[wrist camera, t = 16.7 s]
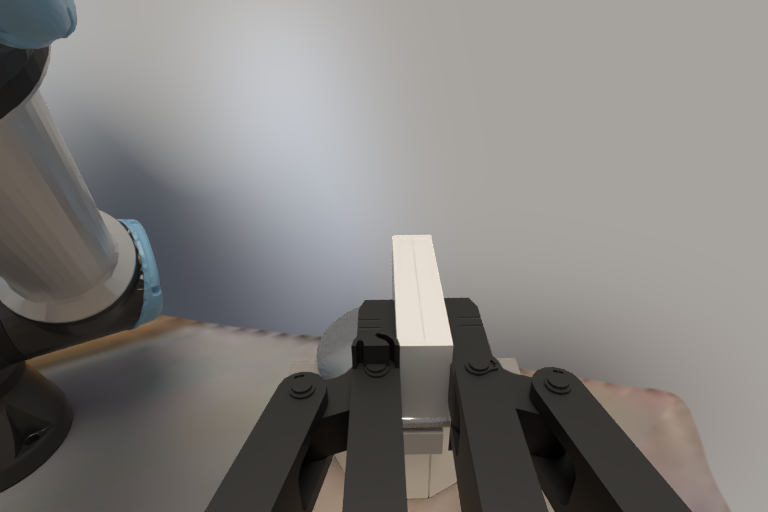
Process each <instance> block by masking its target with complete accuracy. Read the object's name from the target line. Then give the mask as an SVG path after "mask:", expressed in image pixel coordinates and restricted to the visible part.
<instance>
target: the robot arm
mask: <svg viewBox="0 0 768 512" xmlns="http://www.w3.org/2000/svg"><path fill="white" fill-rule="evenodd" d="M76 24H77V15H76V7H75V4H74V0H0V491H2V490H4V489H6V488H8V487H9V486H11V485H13V484H14V483H16V482H18V481H19V480H21V479H22V478H24V477H25V476H27V475H28V474H30V473H31V472H32V471H34V470H35V469H36V468H37V467H39V466H40V465H41V464H42V463H43V462H44V461H45V460H46V459H47V458H48V457H49V456H50V455H51V454H52V453H53V452H54V451H55V450H56V449H57V448H58V446H59V445H60V444H61V442H62V441H63V439H64V438H65V436H66V434H67V432H68V430H69V428H70V425H71V421H72V410H71V407H70V405H69V403H68V401H67V399H66V397H65V395H64V393H63V392H62V391H61V389H60V388H59V387H58V386H56V385H55V384H54V383H52V382H51V381H50V380H48V379H47V378H46V377H44V376H43V375H42V374H40V373H39V372H38V371H36V370H35V369H34V368H32V367H31V366H30V365H28V364H27V363H26V362H25V360H28V359H32V358H34V357H37V356H41V355H44V354H47V353H51V352H54V351H57V350H61V349H64V348H67V347H71V346H74V345H77V344H81V343H84V342H88V341H91V340H94V339H98V338H101V337H104V336H108V335H111V334H114V333H118V332H121V331H124V330H133V329H136V328H137V327H139V326H140V325H142V324H145V323H148V322H150V321H153V320H155V319H156V318H157V317H158V316H159V315H160V313H161V311H162V307H163V299H162V291H161V288H160V285H159V284H160V282H159V274H158V270H157V266H156V262H155V258H154V255H153V251H152V248H151V245H150V242H149V239H148V237H147V235H146V232H145V230H144V228H143V227H142V225H141V224H140V223H139V222H138V221H136V220H132V219H130V220H122V219H118V220H116V219H114V218H113V217H111V216H110V215H108V214H106V213H104V212H102V211H100V210H98V209H97V207H96V205H95V203H94V201H93V199H92V197H91V195H90V193H89V191H88V189H87V187H86V185H85V183H84V181H83V179H82V176H81V174H80V172H79V170H78V168H77V166H76V165H75V162H74V160H73V158H72V156H71V154H70V152H69V150H68V148H67V146H66V144H65V142H64V140H63V138H62V136H61V134H60V132H59V130H58V128H57V126H56V124H55V122H54V119H53V118H52V115H51V113H50V112H49V109H48V107H47V105H46V103H45V101H44V99H43V97H42V95H41V93H40V91H39V89H38V88H39V87H40V85H41V83H42V81H43V79H44V77H45V75H46V72H47V69H48V65H49V61H50V51H51V43H52V42H53V41H55V40H56V39H60V38H67V37H68V36H69V35H70V34H71V33H72V32H74V30H75V28H76ZM392 279H393V280H392V282H393V283H392V287H393V289H392V294H393V300H365V301H364V303H363V304H362V305H361V307H360V308H359V312H358V326H357V337H356V338H355V339H354V340H353V343H352V345H351V351H352V367H351V368H350V369H349V370H348V371H347V372H346V373H344V374H342V375H341V376H338V377H335V378H332V379H328V380H325V379H324V378H322V377H321V376H320V375H319V374H316V373H313V372H299V373H295V374H292V375H290V376H288V377H287V378H285V379H284V380H283V381H282V382H281V383H280V384H279V386H278V388H277V389H276V391H275V393H274V394H273V396H272V398H271V399H270V401H269V403H268V405H267V406H266V408H265V410H264V411H263V413H262V415H261V416H260V418H259V420H258V422H257V423H256V425H255V427H254V428H253V430H252V432H251V433H250V435H249V437H248V439H247V440H246V442H245V444H244V445H243V447H242V449H241V450H240V452H239V454H238V456H237V457H236V459H235V461H234V462H233V464H232V466H231V467H230V469H229V471H228V473H227V474H226V476H225V478H224V479H223V481H222V483H221V484H220V486H219V488H218V490H217V491H216V493H215V495H214V496H213V498H212V500H211V501H210V503H209V505H208V507H207V508H206V510H205V512H312V511H313V508H314V505H315V503H316V500H317V497H318V495H319V492H320V490H321V487H322V484H323V482H324V479H325V477H326V474H327V471H328V469H329V466H330V463H331V461H332V457H333V455H334V454H337V453H341V452H344V451H347V455H346V469H345V483H344V497H343V511H342V512H408V510H407V491H406V473H405V454H404V436H403V418H440V417H448V409H449V412H450V418H451V421H450V434H449V446H448V451H453V458H454V465H455V471H456V478H457V484H458V491H459V498H460V504H461V511H462V512H548V509H547V506H546V503H545V500H544V496H543V493H542V491H543V492H544V494H545V496H546V497H547V499H548V501H549V503H550V504H551V506H552V508H553V509H554V511H555V512H692V511H691V510H690V509H689V508H688V506H687V505H686V504H685V503H684V502H683V501H682V499H681V498H680V497H679V496H678V495H677V494H676V492H675V491H674V490H673V489H672V488H671V487H670V485H669V484H668V483H667V482H666V481H665V479H664V478H663V477H662V476H661V475H660V474H659V472H658V471H657V470H656V469H655V468H654V467H653V465H652V464H651V463H650V462H649V461H648V460H647V458H646V457H645V456H644V455H643V454H642V452H641V451H640V450H639V449H638V448H637V447H636V445H635V444H634V443H633V442H632V441H631V440H630V438H629V437H628V436H627V435H626V434H625V432H624V431H623V430H622V429H621V428H620V427H619V425H618V424H617V423H616V422H615V421H614V420H613V418H612V417H611V416H610V415H609V414H608V413H607V411H606V410H605V409H604V408H603V407H602V405H601V404H600V403H599V402H598V401H597V400H596V398H595V397H594V396H593V395H592V394H591V393H590V391H589V390H588V389H587V388H586V387H585V386H584V384H583V383H582V382H581V381H580V380H579V379H578V378H577V377H576V376H575V375H573V374H572V373H570V372H568V371H565V370H564V369H560V368H555V367H547V368H542V369H540V370H537V371H536V372H535V373H534V375H533V377H528V376H523V375H519V374H515V373H512V372H510V371H508V370H506V369H504V368H502V366H501V364H500V362H499V361H498V360H497V359H496V358H494V357H493V356H492V353H491V349H490V346H489V343H488V340H487V336H486V333H485V330H484V327H483V323H482V320H481V318H480V314H479V310H478V307H477V306H476V305H475V304H474V303H473V302H472V301H471V300H470V299H469V298H444V297H443V292H442V287H441V282H440V278H439V273H438V268H437V263H436V258H435V253H434V248H433V243H432V238H431V235H392ZM541 489H542V490H541Z"/></svg>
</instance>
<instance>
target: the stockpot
mask: <svg viewBox="0 0 768 512" xmlns="http://www.w3.org/2000/svg"><path fill="white" fill-rule="evenodd" d="M496 359H497V360H498V361H499V362H500V364H501V366H502V368H504V369H506V370H508V371H510V372H512V373H515V374H519V375H521V374H520V371H519V368H518V365H517V362H516V359H515V358H496ZM299 372H313V373H316V374H319V373H318V366H317V361H306V362H292V365H291V370H290V374H289V376H290V375H292V374H295V373H299ZM450 421H451V418H450ZM449 434H450V427H431V428H403V436H404V454H405V473H406V491H407V499H418V498H428V496H429V498H430V497H432V496H434V495H435V494H437V493H439V492H441V491H442V490H444V489H446V488H447V487H449V486H451V485H453V484H454V483H456V482H457V478H456V471H455V465H454V458H453V451H448V446H449ZM334 455H335V457H336V458H337V460H338V462H339V464H340V465H341V467H342V469H343V471H344V473H345V469H346V455H347V451H344V452H341V453H337V454H334Z"/></svg>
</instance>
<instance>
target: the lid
mask: <svg viewBox="0 0 768 512" xmlns="http://www.w3.org/2000/svg"><path fill="white" fill-rule="evenodd" d="M392 300H393V299H392ZM359 308H360V307H358V308H356V309H354V310H352V311H350V312H348V313H346V314H344V315H343V316H342V317H340V318H338V319H337V320H336V321H335V322H334V323H332V325H331V326H330V327H329V328H328V329H327V330H326V332H325V333H324V334H323V336H322V338H321V340H320V342H319V345H318V349H317V366H318V373H319V375H320V376H321V377H322V378H324V379H325V380H328V379H332V378H335V377H338V376H341V375H342V374H344V373H346V372H347V371H348V370H349V369H350V368H351V367H352V351H351V345H352V343H353V340H354V339H355V338H356V337H357V326H358V312H359ZM487 340H488V339H487ZM488 343H489V342H488ZM489 346H490V344H489ZM490 349H491V346H490ZM491 353H492V351H491ZM431 427H450V412H449V409H448V417H440V418H403V428H431Z"/></svg>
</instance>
